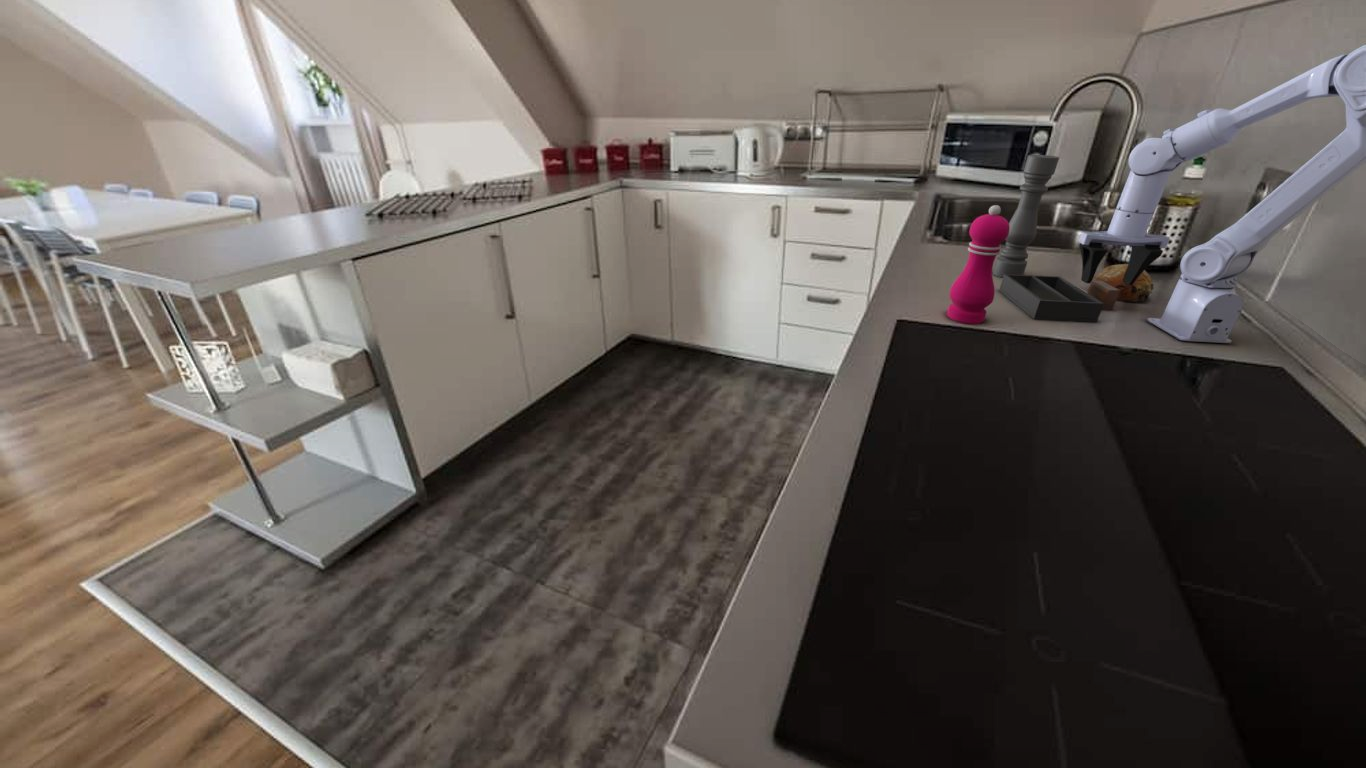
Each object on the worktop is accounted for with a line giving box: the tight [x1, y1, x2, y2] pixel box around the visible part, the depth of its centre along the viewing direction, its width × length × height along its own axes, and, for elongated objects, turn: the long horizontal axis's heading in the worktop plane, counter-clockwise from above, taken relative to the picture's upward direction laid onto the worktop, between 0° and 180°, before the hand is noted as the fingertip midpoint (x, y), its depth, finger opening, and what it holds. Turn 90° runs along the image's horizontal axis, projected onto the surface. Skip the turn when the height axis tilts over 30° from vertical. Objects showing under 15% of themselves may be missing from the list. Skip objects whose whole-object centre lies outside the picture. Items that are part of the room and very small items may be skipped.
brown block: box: [1075, 280, 1120, 311], centre depth 112 cm, size 13×2×4 cm, turn 174°
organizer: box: [998, 274, 1104, 323], centre depth 108 cm, size 16×11×4 cm
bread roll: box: [1093, 263, 1154, 303], centre depth 114 cm, size 10×10×8 cm
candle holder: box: [992, 154, 1060, 279], centre depth 120 cm, size 6×6×25 cm
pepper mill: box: [946, 204, 1010, 325], centre depth 97 cm, size 7×7×20 cm
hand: (1106, 282), depth 107 cm, fingers open, 7 cm apart
